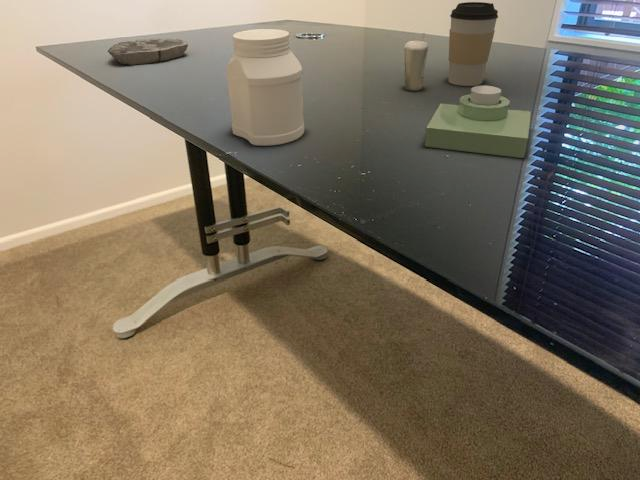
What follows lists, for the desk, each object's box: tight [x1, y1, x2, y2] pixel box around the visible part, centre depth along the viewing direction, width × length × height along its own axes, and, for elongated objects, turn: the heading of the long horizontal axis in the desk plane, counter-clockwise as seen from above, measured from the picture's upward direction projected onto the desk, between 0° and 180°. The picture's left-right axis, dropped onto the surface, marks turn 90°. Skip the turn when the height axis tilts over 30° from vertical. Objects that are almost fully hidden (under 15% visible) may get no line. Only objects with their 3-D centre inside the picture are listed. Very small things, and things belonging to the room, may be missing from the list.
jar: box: [225, 28, 305, 147], centre depth 77 cm, size 12×10×15 cm
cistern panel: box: [424, 93, 532, 159], centre depth 76 cm, size 14×13×5 cm
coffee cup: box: [448, 1, 499, 87], centre depth 101 cm, size 9×9×15 cm
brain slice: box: [107, 38, 189, 66], centre depth 129 cm, size 20×17×3 cm
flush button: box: [469, 85, 502, 106], centre depth 77 cm, size 4×4×2 cm
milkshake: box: [403, 32, 430, 92], centre depth 98 cm, size 4×5×10 cm
